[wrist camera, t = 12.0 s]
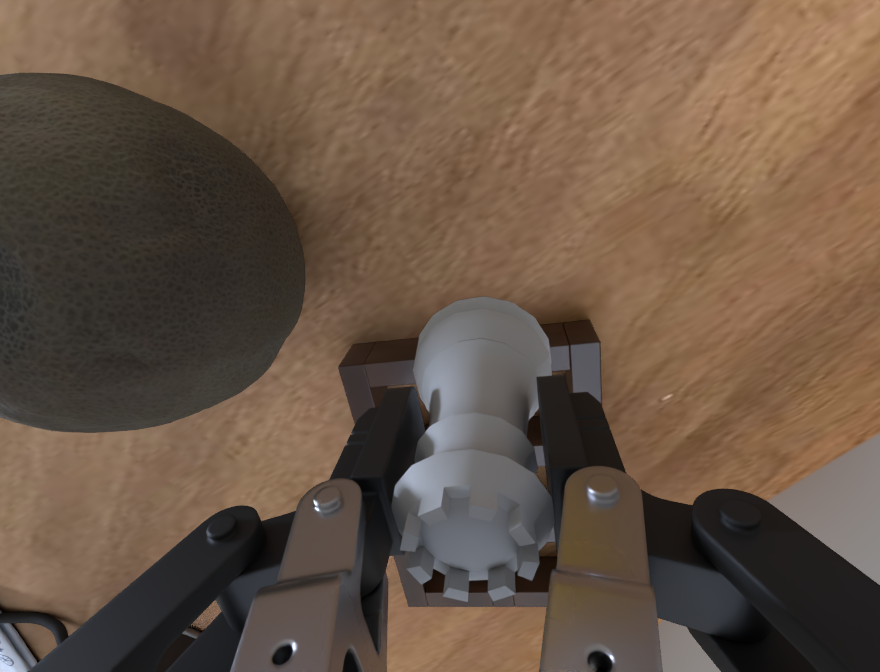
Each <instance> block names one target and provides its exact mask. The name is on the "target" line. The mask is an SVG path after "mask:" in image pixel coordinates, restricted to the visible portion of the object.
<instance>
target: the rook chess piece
mask: <svg viewBox="0 0 880 672" xmlns="http://www.w3.org/2000/svg"><path fill="white" fill-rule="evenodd" d="M551 363H552V362H551V354H550V347H549V339H548V337H547V336H546V334H545V333H544V331H543V330H542V328H541V326H540V325H539V323H538V322H537V320H536V319H535V317H533V316H532V315H530V314H529V313H527V312H526V311H524V310H523V309H521V308H520V307H518V306H517V305H515V304H514V303H512V302H509V301H504V300H500V299H495V298H490V297H486V296H482V297H476V298H470V299H463V300H457V301H455V302H453V303H452V304H450V305H448V306H447V307H445V308H443V309H442V310H440V311H438V312H437V313H435V314H434V315H433V316H432V318H431V319H430V320H429V322H428V323H427V325H426V326H425V327H424V329H423V330H422V332H421V333H420V335H419V340H418V346H417V351H416V357H415V362H414V368H413V372H414V377H415V381H416V384H417V388H418V392H419V396H420V399H421V400H422V401H423V402H424V404H425V406H426V409H427V410H428V411H429V428H428V429H427V431H426V432H425V433H424V434H423V436H422V437H421V438H420V439H419V441H418V443H417V448H416V453H415V458H414V461H415V464H413V465H411V467H410V468H409V469H408V470H407V471H406V473H405V474H404V475H403V476H402V477H401V479H400V480H399V481H398V482H397V483H396V485H395V488H394V494H393V499H392V505H391V507H392V512H393V515H394V518H395V522H396V525H397V528H398V531H399V532H400V534H401V535H402V542H401V547H400V550H402V551H410V553H409V558H408V563H407V567H406V569H407V570H408V571H409V572H410V573H411V574H412V575H413V577H414V578H415V579H416V580H417V581H418V582H419V583H420V584H421V585H422V584H424V583H425V582H427V581H429V580H430V579H432V573H433V569H435V570H437V571H439V572H441V573H443V574H444V575H445V582H444V590H443V597H448V598H452V599H456V600H461V601H465V602H468V591H469V581H471V580H488V593H489V595H490V597H491V598H492V600H493V601H496V600H499V599H502V598H505V597H508V596H511V595H515V594H516V588H515V572H516V571H517V573H518V576H521V577H524V578H526V579H529V580H531V581H532V580H533V577H534V575H535V573H536V570H537V568H538V565H539V552H538V551H539V550H540V549H541V548H542V547H543V546H544V545H545V544H546V543H547V540H548V538H549V536H550V533H551V531H552V528H553V526H554V523H555V521H554V509H553V502H552V497H551V495H550V494H549V493H548V491H547V490H546V488H545V487H544V486H543V484H542V483H541V482H540V480H539V479H538V478H537V476H536V475H535V474H536V471H537V469H538V466H537V460H536V454H535V448H534V447H533V446H532V444H531V443H530V441H529V440H528V439H527V437H526V436H527V429H528V421H529V420H530V418H531V417H532V416H533V415H534V414H535V412H536V411H537V410H538V409H539V404H538V392H537V381H536V377H539V376H551V375H552V371H551Z"/></svg>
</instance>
